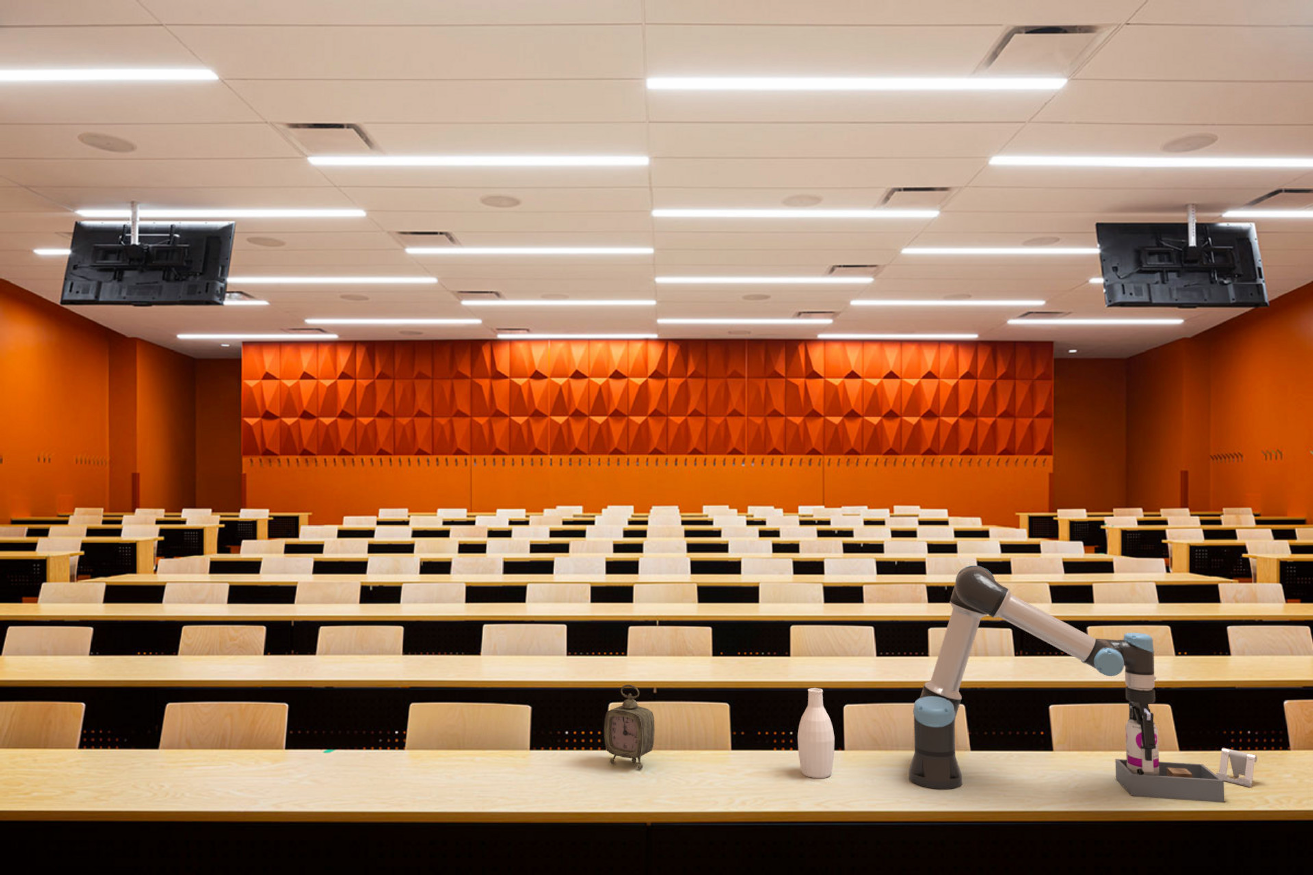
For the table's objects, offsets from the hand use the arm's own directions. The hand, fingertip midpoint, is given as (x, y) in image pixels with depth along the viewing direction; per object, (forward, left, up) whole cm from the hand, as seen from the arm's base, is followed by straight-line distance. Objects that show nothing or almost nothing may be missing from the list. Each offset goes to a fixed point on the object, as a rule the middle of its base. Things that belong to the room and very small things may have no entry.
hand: (1142, 766), depth 251 cm
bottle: (-93, -7, -6) cm, 94 cm away
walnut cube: (+10, -1, -5) cm, 11 cm away
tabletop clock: (-151, -10, -6) cm, 152 cm away
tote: (+7, 0, -6) cm, 9 cm away
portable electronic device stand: (+30, +12, -7) cm, 33 cm away
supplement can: (0, 0, -2) cm, 2 cm away
